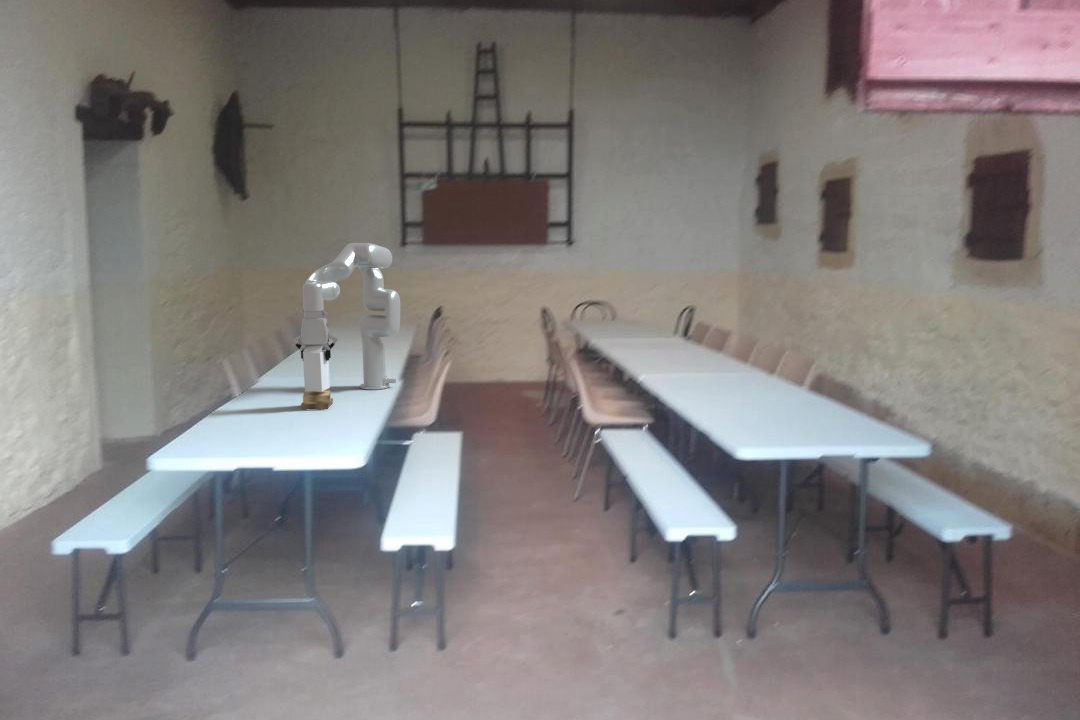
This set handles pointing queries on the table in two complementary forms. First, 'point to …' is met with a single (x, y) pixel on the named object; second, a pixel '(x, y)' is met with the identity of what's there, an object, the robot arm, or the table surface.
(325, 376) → the milk carton
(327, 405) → the bottom slab
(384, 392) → the table surface
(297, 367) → the table surface
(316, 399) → the top slab
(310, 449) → the table surface
